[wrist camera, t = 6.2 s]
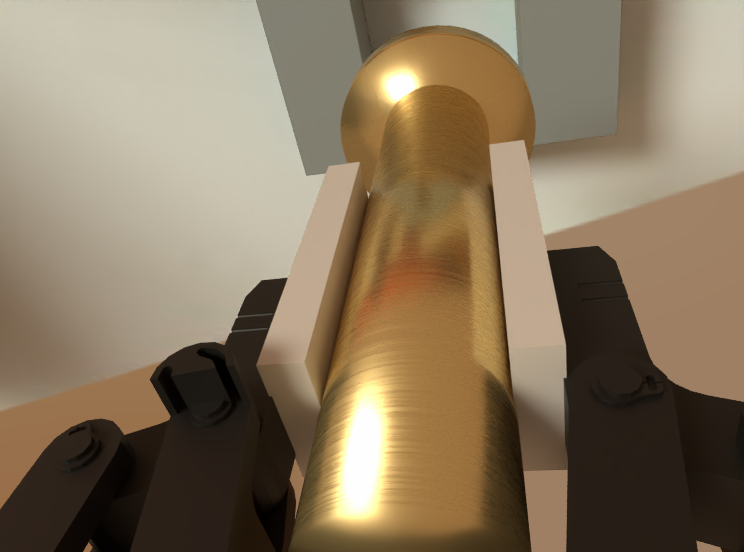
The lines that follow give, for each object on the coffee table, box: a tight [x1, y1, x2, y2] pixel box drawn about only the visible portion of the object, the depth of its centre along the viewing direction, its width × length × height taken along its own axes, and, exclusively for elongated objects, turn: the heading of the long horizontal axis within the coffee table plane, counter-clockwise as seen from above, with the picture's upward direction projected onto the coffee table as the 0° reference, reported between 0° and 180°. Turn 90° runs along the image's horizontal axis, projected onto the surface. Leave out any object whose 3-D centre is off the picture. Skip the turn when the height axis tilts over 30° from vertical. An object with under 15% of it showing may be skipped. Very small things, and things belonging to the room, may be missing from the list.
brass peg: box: [288, 25, 536, 552], centre depth 13 cm, size 6×6×14 cm
